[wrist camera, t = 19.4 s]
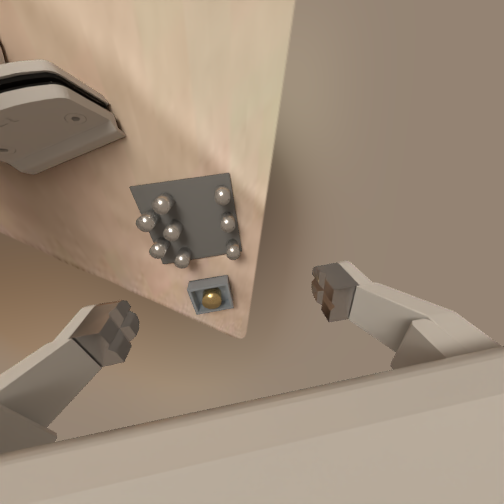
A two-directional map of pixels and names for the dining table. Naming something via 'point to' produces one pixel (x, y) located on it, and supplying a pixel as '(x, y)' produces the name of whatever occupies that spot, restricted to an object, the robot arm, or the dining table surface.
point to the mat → (191, 214)
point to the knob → (211, 298)
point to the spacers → (175, 227)
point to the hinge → (49, 116)
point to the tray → (199, 286)
